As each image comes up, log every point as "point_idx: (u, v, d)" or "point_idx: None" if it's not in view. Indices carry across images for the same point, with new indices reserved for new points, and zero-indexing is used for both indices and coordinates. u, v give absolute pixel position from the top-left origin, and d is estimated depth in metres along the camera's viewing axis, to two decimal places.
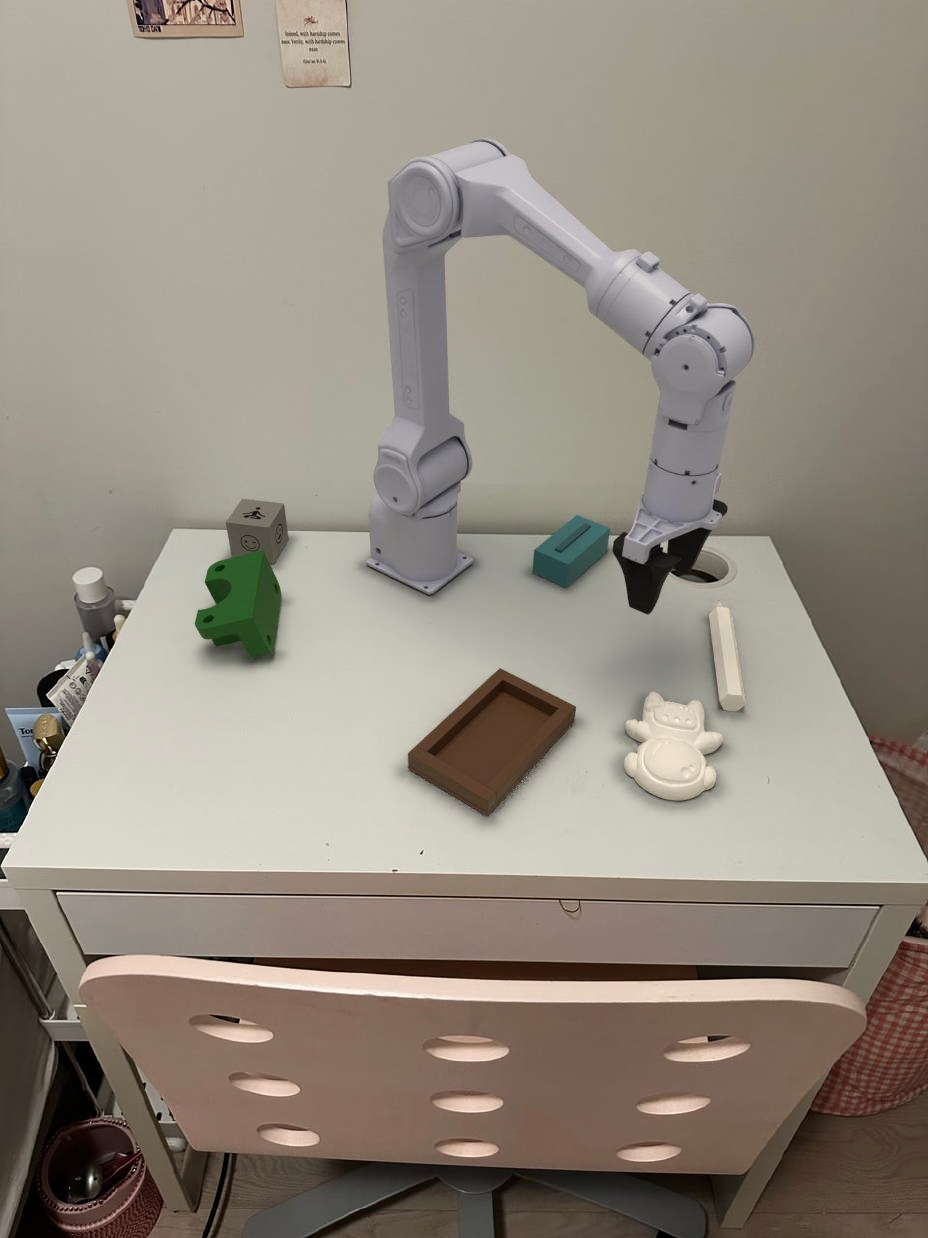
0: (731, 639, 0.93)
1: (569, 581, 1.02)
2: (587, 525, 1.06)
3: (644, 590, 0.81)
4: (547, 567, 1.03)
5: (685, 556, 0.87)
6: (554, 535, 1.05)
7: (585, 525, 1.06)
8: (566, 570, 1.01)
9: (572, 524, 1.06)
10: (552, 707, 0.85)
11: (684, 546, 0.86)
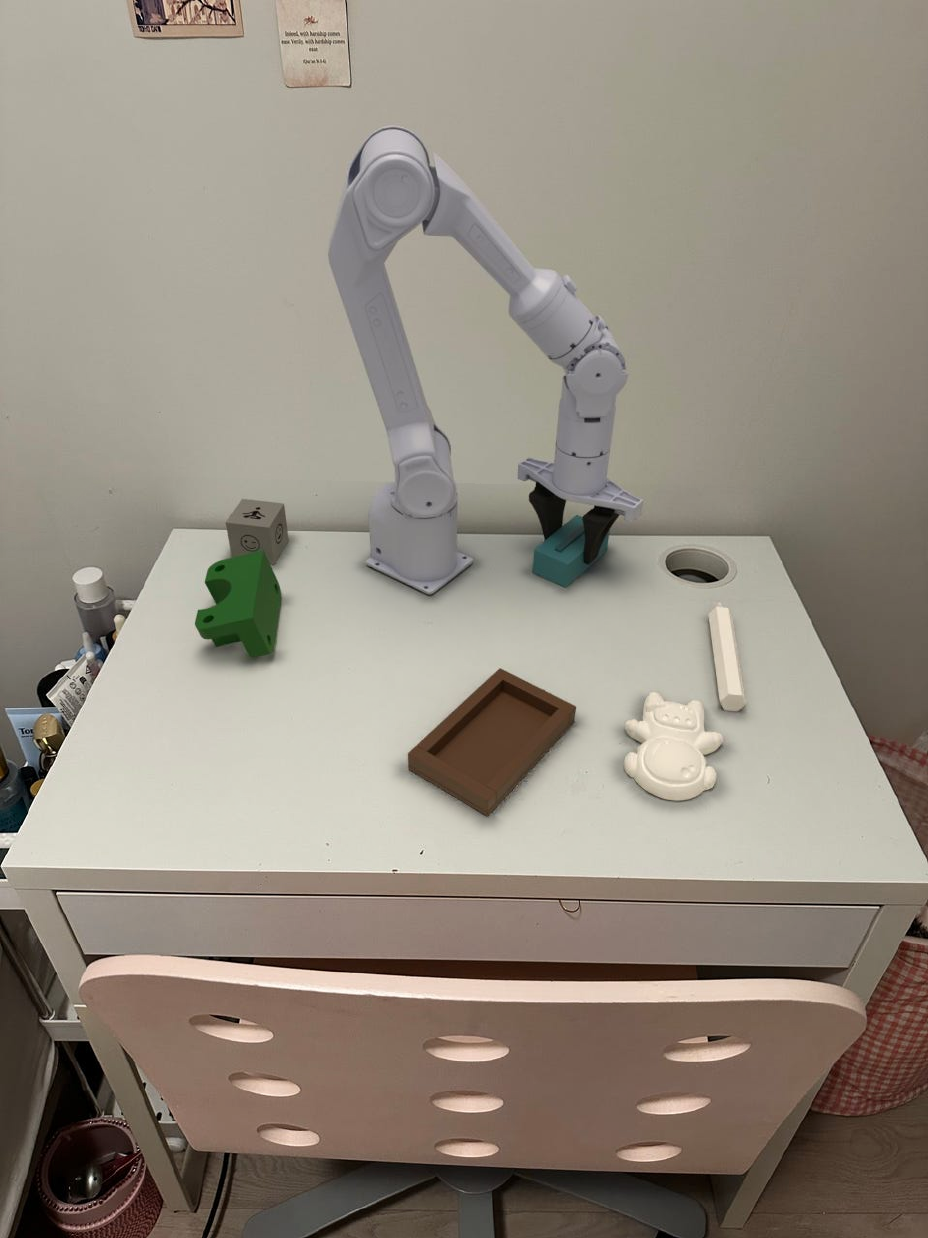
0: (730, 639, 0.93)
1: (569, 581, 1.02)
2: None
3: (598, 541, 1.02)
4: (547, 567, 1.03)
5: (557, 529, 1.05)
6: (554, 535, 1.05)
7: None
8: (566, 570, 1.01)
9: (572, 524, 1.06)
10: (552, 707, 0.85)
11: (556, 523, 1.05)
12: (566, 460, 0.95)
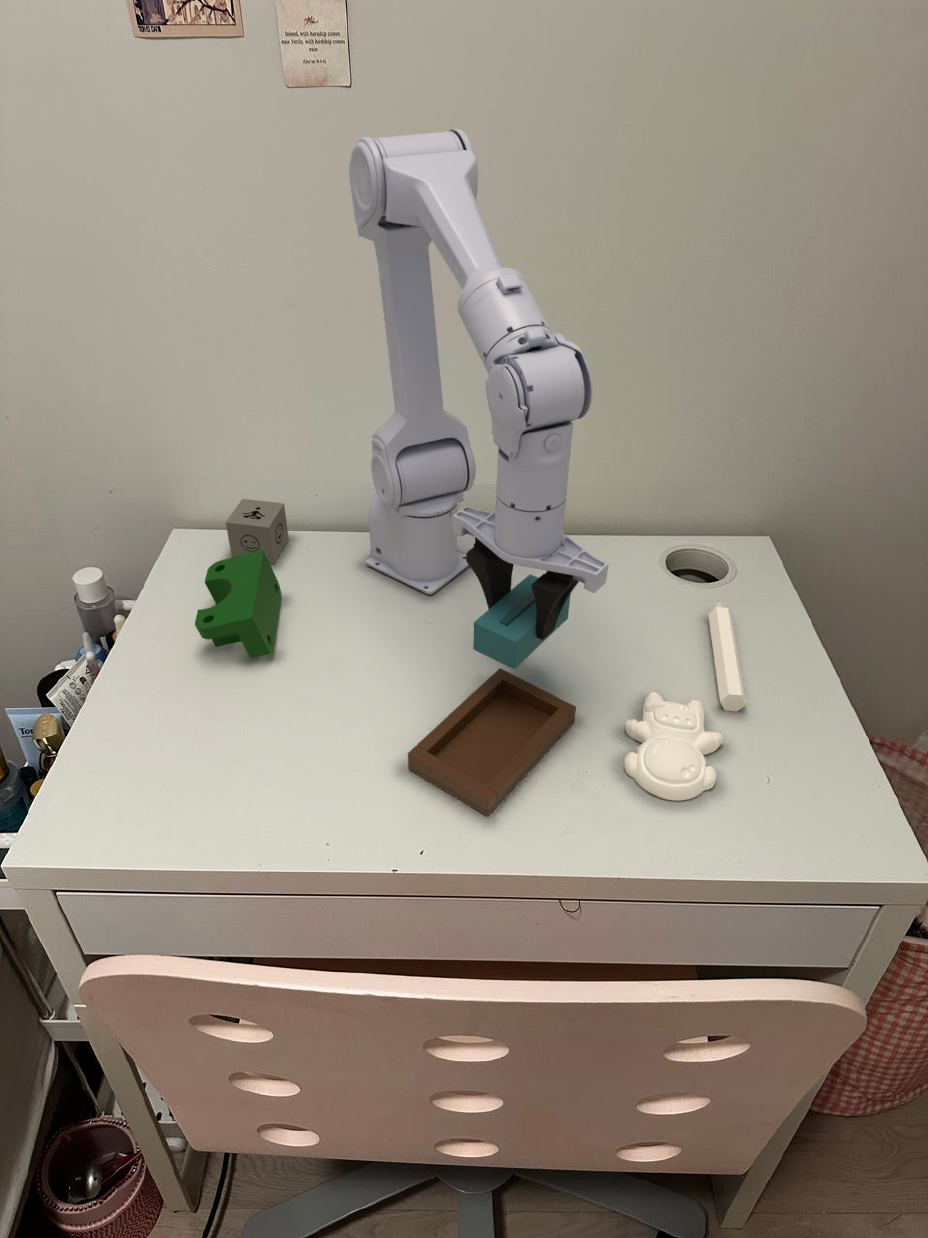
0: (730, 639, 0.93)
1: (518, 661, 0.81)
2: None
3: (554, 611, 0.81)
4: (490, 644, 0.82)
5: (505, 594, 0.84)
6: (500, 602, 0.84)
7: None
8: (513, 649, 0.80)
9: (523, 587, 0.85)
10: (552, 707, 0.85)
11: (502, 587, 0.84)
12: (509, 514, 0.74)
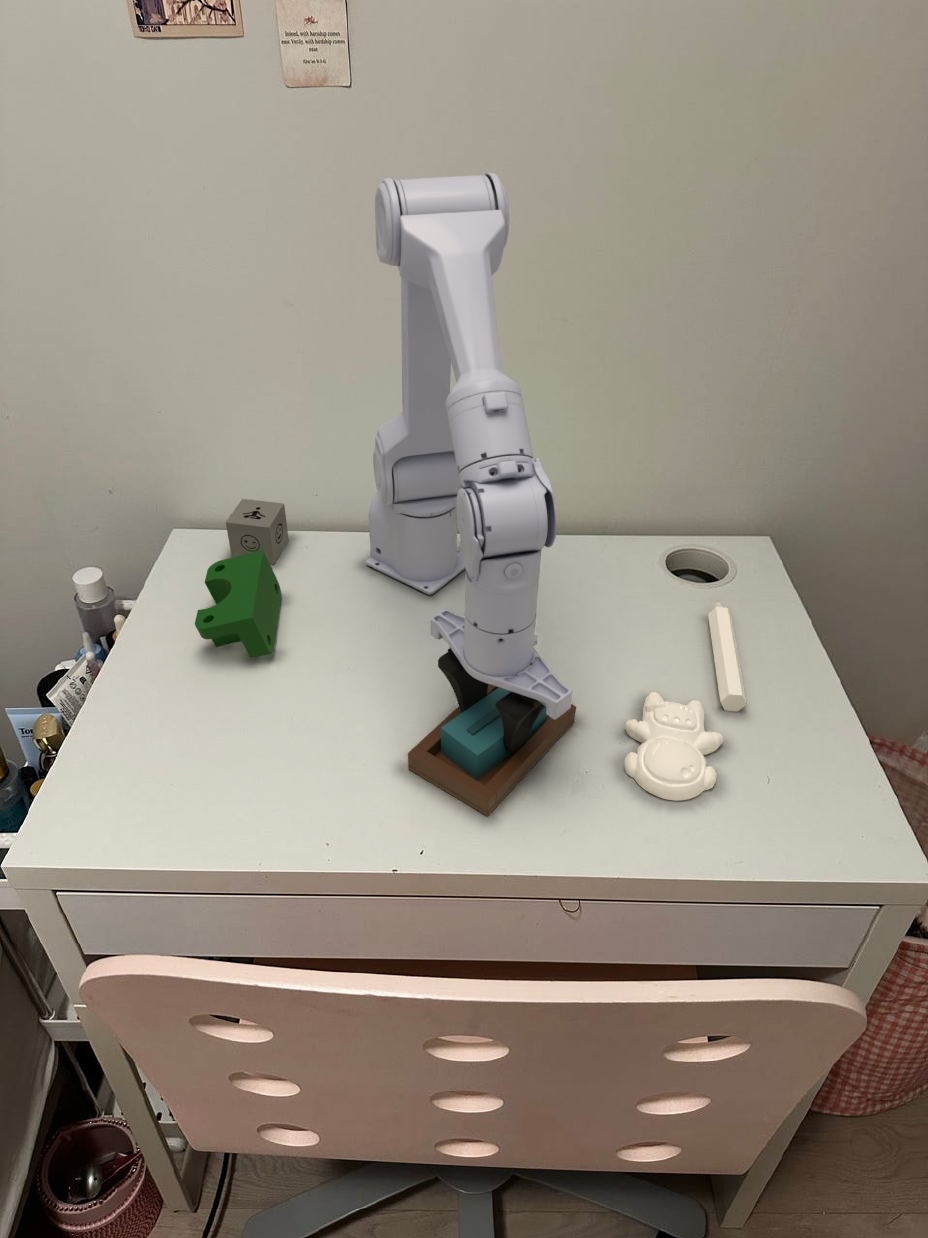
0: (730, 639, 0.93)
1: (481, 772, 0.80)
2: None
3: (523, 727, 0.80)
4: (455, 752, 0.80)
5: (479, 699, 0.83)
6: (473, 707, 0.82)
7: None
8: (475, 761, 0.79)
9: (501, 693, 0.84)
10: None
11: (476, 693, 0.82)
12: (473, 632, 0.73)
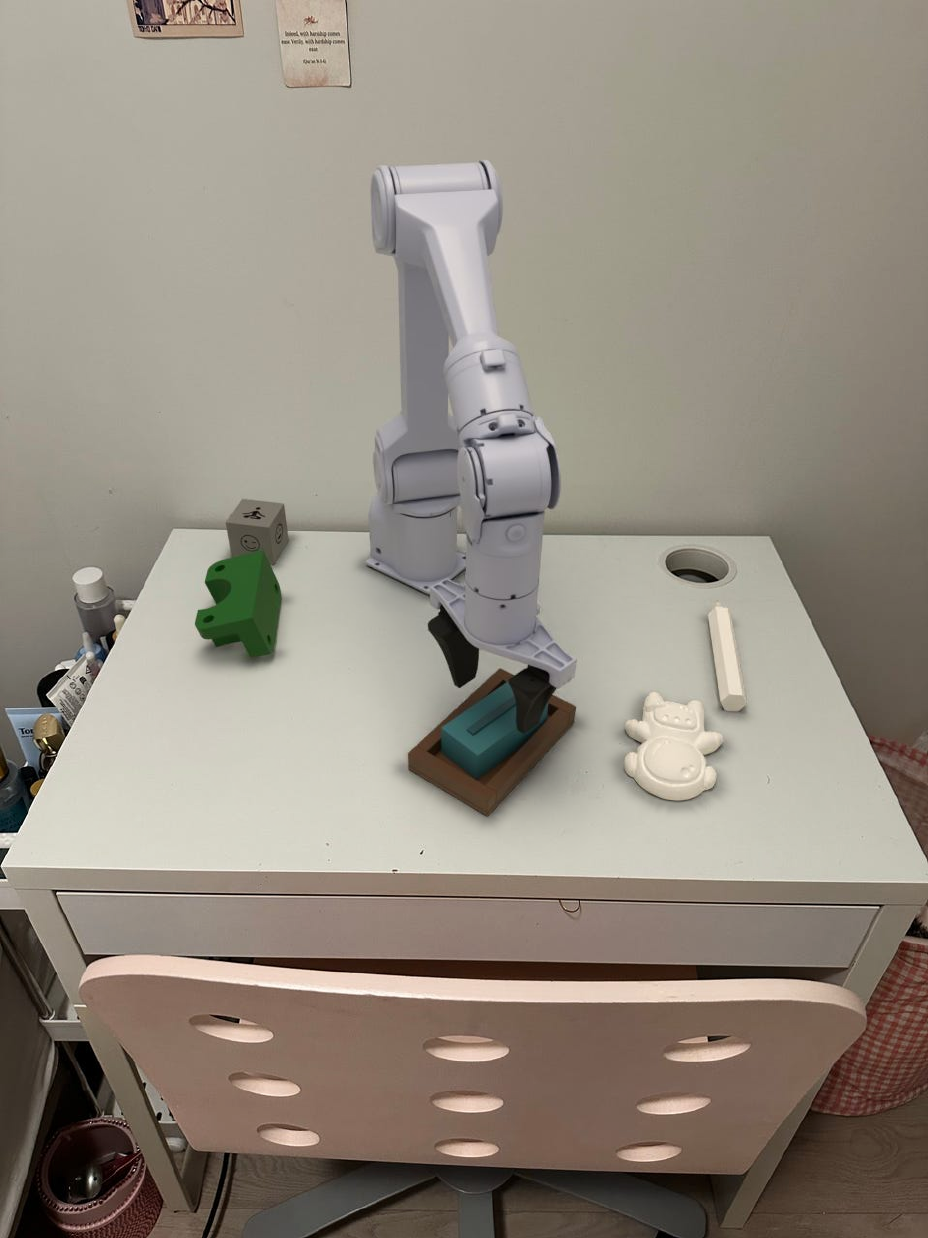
0: (730, 639, 0.93)
1: (481, 773, 0.80)
2: None
3: (537, 706, 0.77)
4: (456, 752, 0.80)
5: (471, 665, 0.82)
6: (473, 708, 0.82)
7: None
8: (475, 761, 0.79)
9: (501, 693, 0.84)
10: (552, 707, 0.85)
11: (467, 658, 0.81)
12: (474, 599, 0.71)
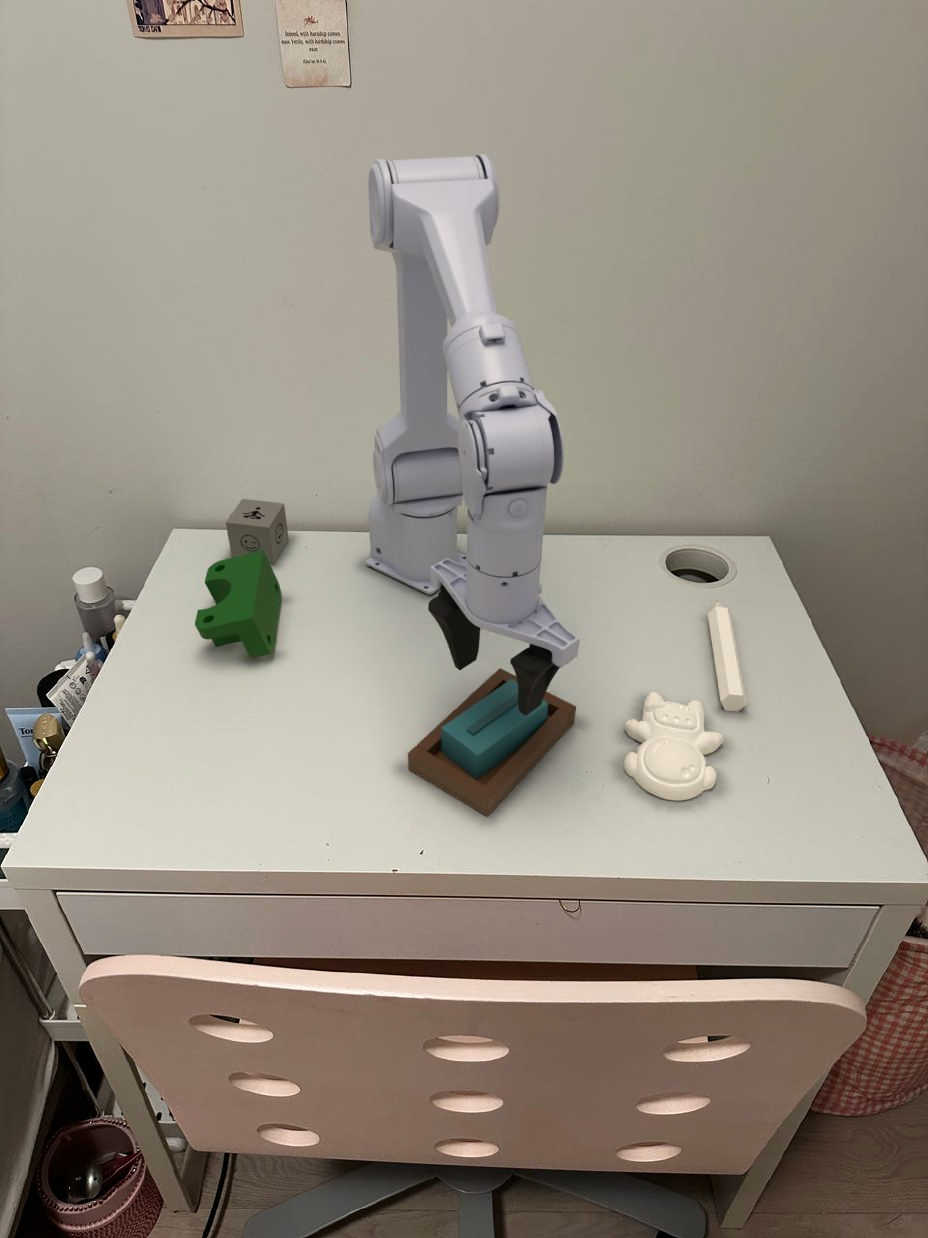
0: (730, 639, 0.93)
1: (481, 773, 0.80)
2: None
3: (539, 687, 0.76)
4: (456, 752, 0.80)
5: (471, 646, 0.81)
6: (473, 708, 0.82)
7: (516, 697, 0.83)
8: (475, 761, 0.79)
9: (501, 693, 0.84)
10: (552, 707, 0.85)
11: (468, 639, 0.80)
12: (475, 576, 0.70)
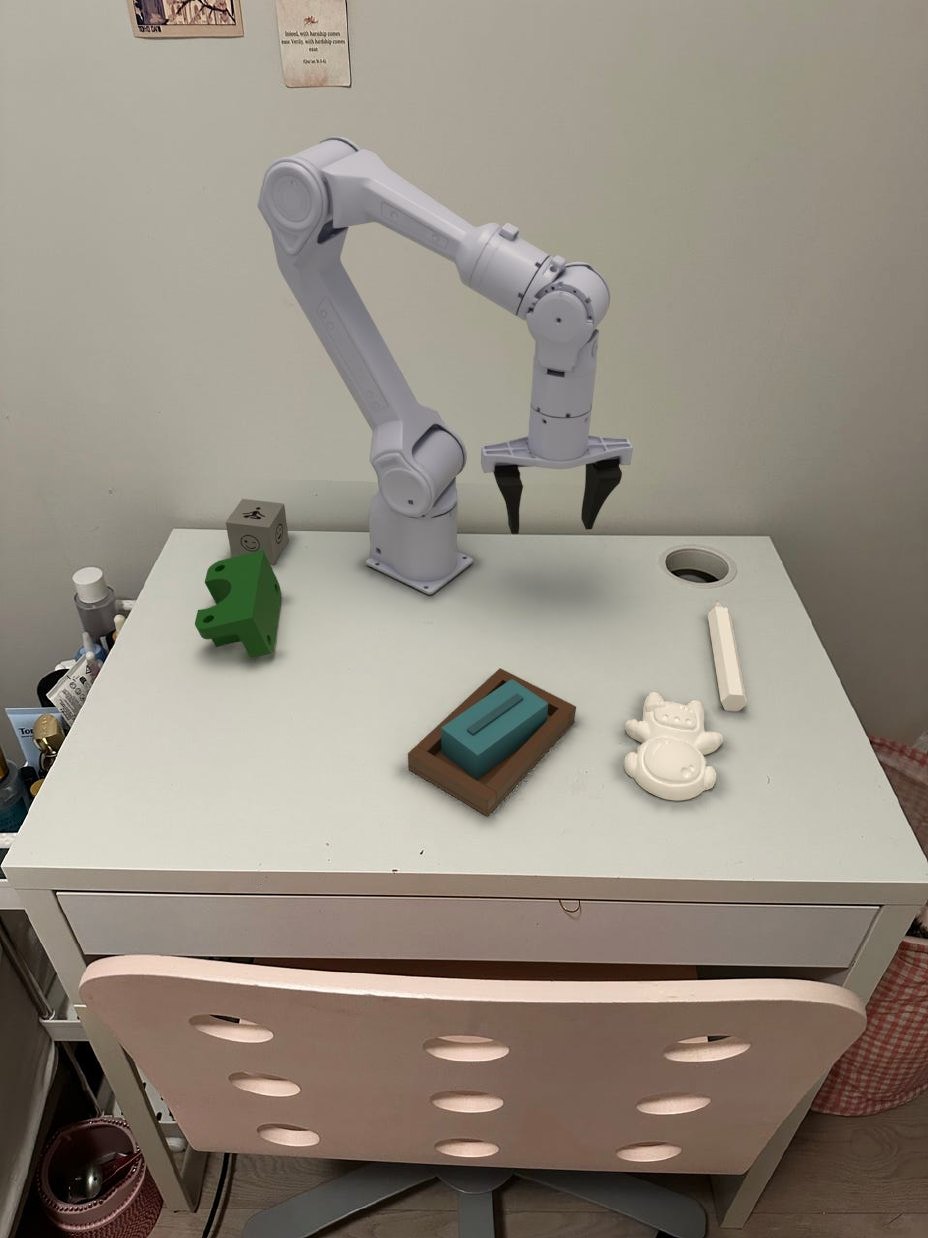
0: (730, 639, 0.93)
1: (481, 773, 0.80)
2: (519, 697, 0.83)
3: None
4: (456, 752, 0.80)
5: None
6: (473, 708, 0.82)
7: (516, 697, 0.83)
8: (475, 761, 0.79)
9: (501, 693, 0.84)
10: (552, 707, 0.85)
11: None
12: (564, 425, 0.85)
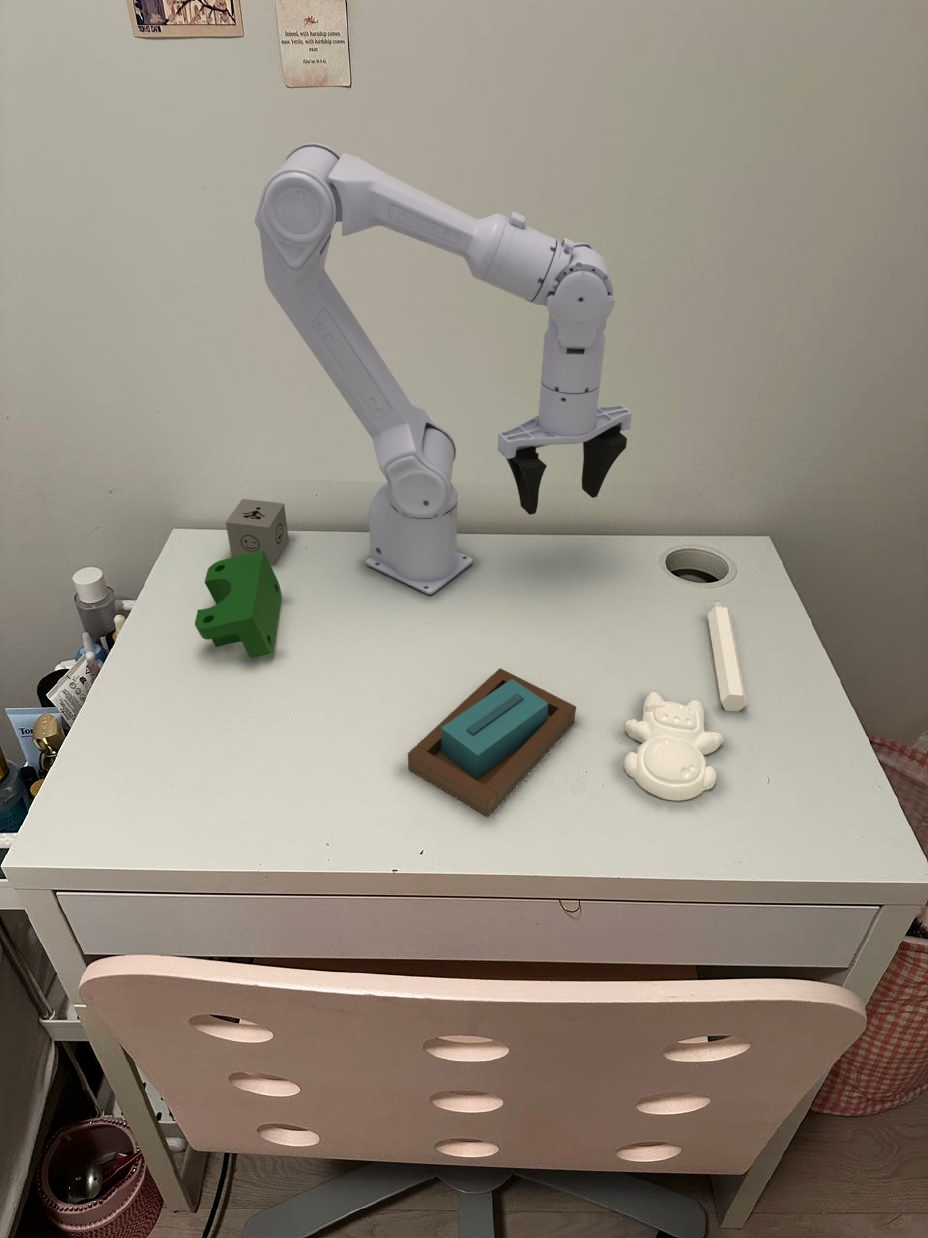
0: (730, 639, 0.93)
1: (481, 773, 0.80)
2: (519, 697, 0.83)
3: None
4: (456, 752, 0.80)
5: None
6: (473, 708, 0.82)
7: (516, 697, 0.83)
8: (475, 761, 0.79)
9: (501, 693, 0.84)
10: (552, 707, 0.85)
11: None
12: (583, 400, 0.88)
